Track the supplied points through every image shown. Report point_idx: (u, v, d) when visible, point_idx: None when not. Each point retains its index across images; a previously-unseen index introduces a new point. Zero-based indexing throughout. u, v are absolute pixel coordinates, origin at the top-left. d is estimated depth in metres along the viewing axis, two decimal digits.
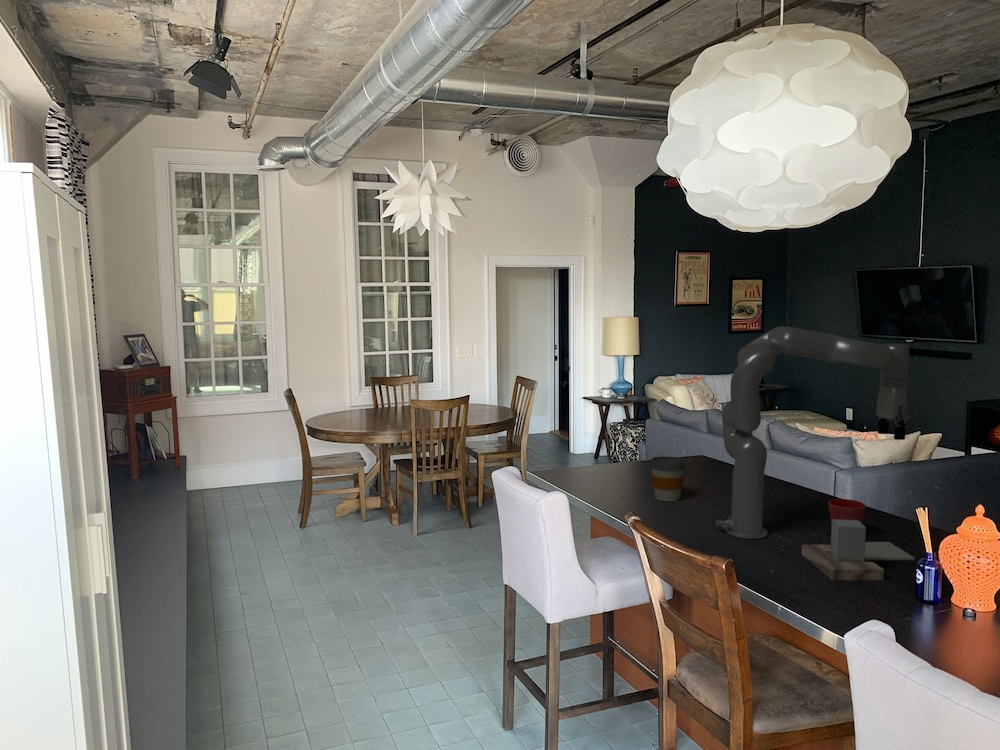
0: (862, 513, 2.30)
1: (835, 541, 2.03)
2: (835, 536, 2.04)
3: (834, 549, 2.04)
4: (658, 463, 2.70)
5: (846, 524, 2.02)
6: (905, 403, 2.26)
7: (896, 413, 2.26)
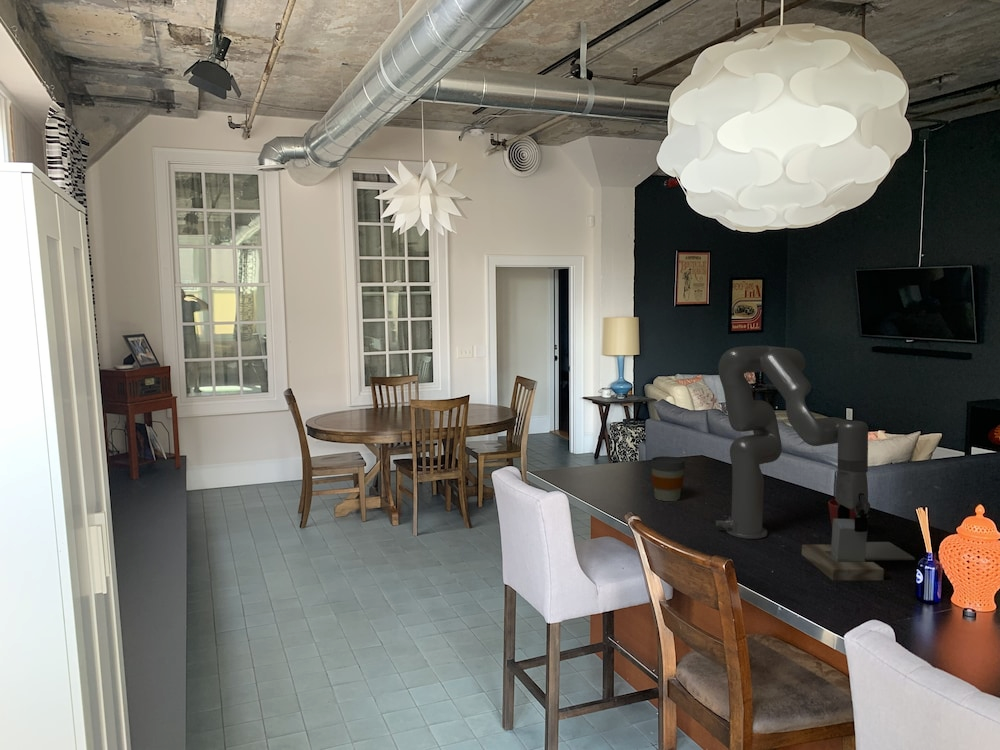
0: None
1: (836, 541, 2.02)
2: (836, 537, 2.03)
3: (835, 549, 2.03)
4: (658, 463, 2.70)
5: (847, 525, 2.01)
6: (866, 490, 1.97)
7: (856, 501, 1.97)
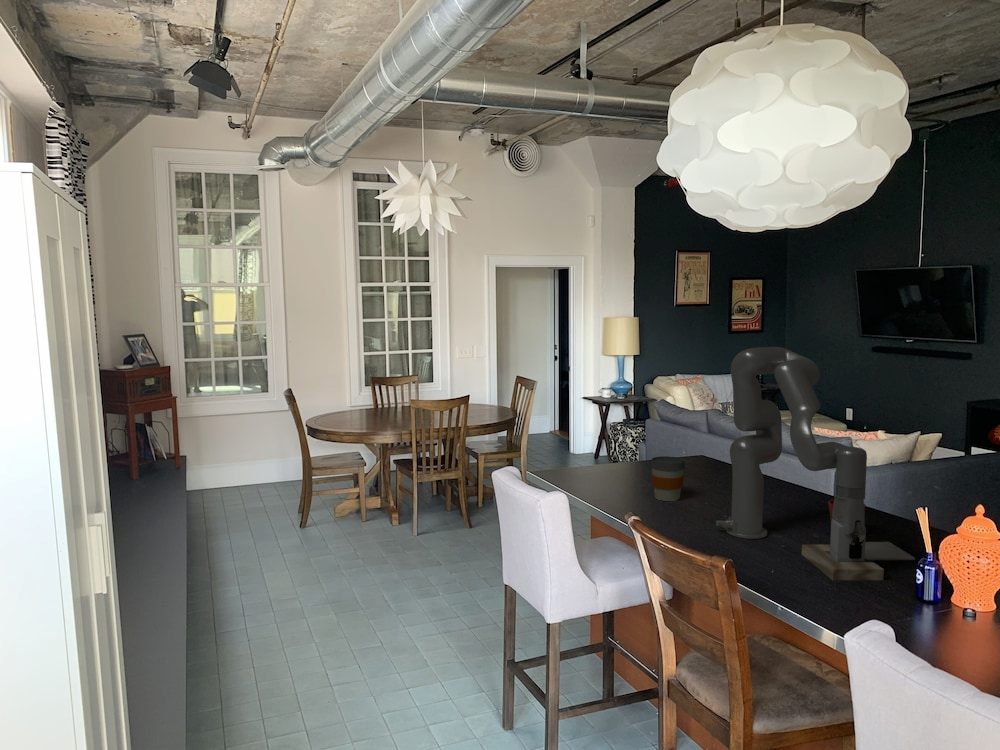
0: None
1: (835, 541, 2.03)
2: (835, 536, 2.03)
3: (834, 549, 2.04)
4: (658, 463, 2.70)
5: None
6: (862, 517, 1.98)
7: (852, 528, 1.98)
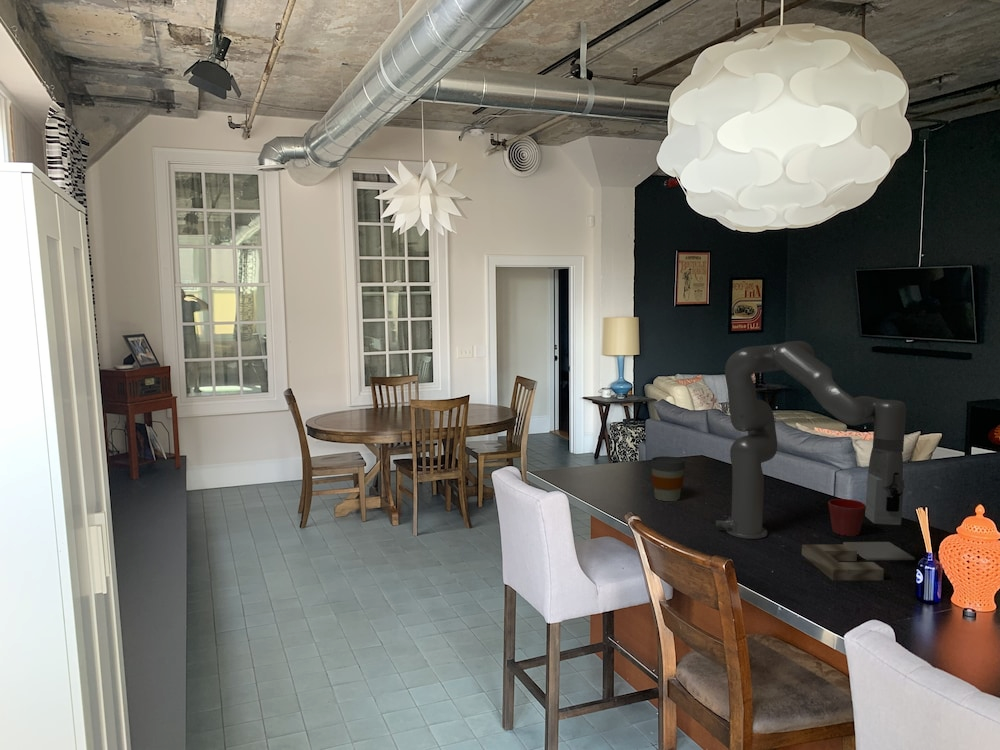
0: (862, 513, 2.30)
1: (872, 494, 2.02)
2: (872, 490, 2.02)
3: (871, 503, 2.03)
4: (658, 463, 2.70)
5: None
6: (901, 469, 1.97)
7: (890, 480, 1.97)
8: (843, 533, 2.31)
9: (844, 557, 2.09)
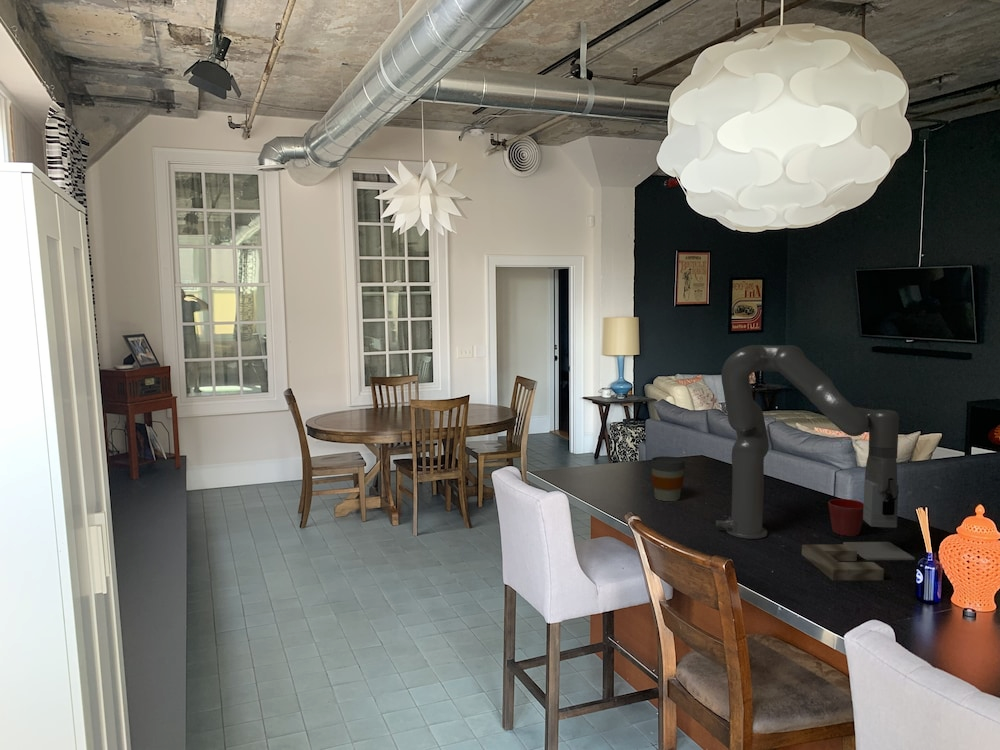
0: (862, 513, 2.30)
1: (869, 499, 2.14)
2: (868, 495, 2.15)
3: (868, 507, 2.15)
4: (658, 463, 2.70)
5: None
6: (895, 475, 2.09)
7: (885, 486, 2.10)
8: (843, 533, 2.31)
9: (844, 557, 2.09)
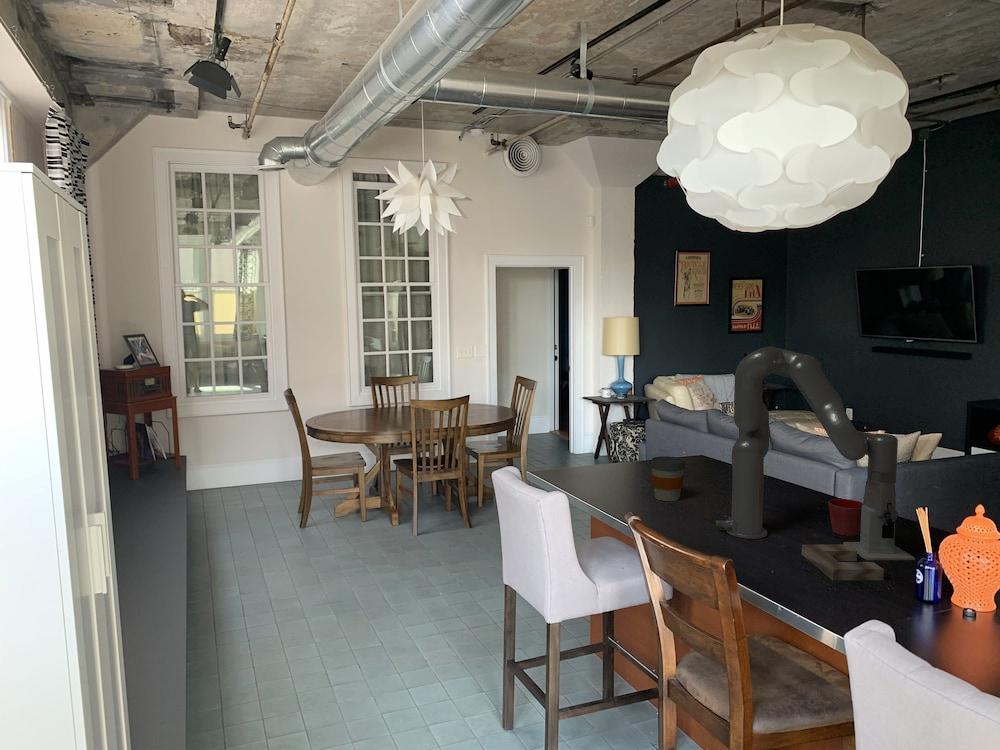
0: None
1: (866, 525, 2.15)
2: (866, 521, 2.16)
3: (865, 533, 2.16)
4: (658, 463, 2.70)
5: None
6: (894, 499, 2.10)
7: (884, 510, 2.10)
8: (843, 533, 2.31)
9: (844, 557, 2.09)
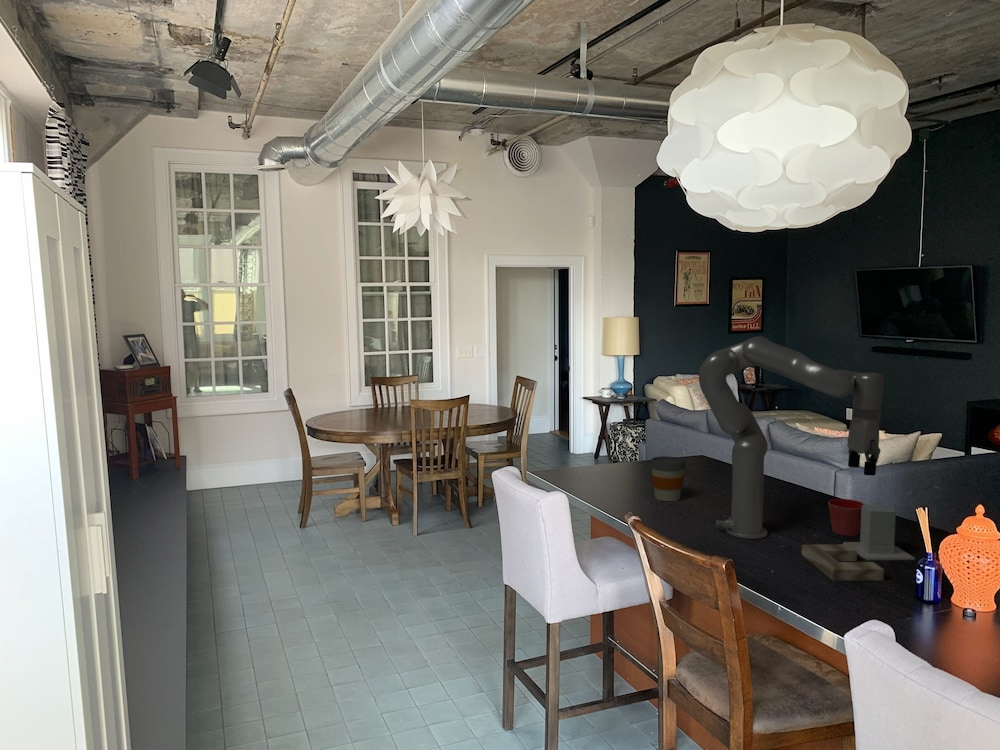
0: None
1: (866, 525, 2.15)
2: (866, 521, 2.16)
3: (865, 533, 2.16)
4: (658, 463, 2.70)
5: (877, 509, 2.14)
6: (877, 437, 2.12)
7: (867, 447, 2.12)
8: (843, 533, 2.31)
9: (844, 557, 2.09)
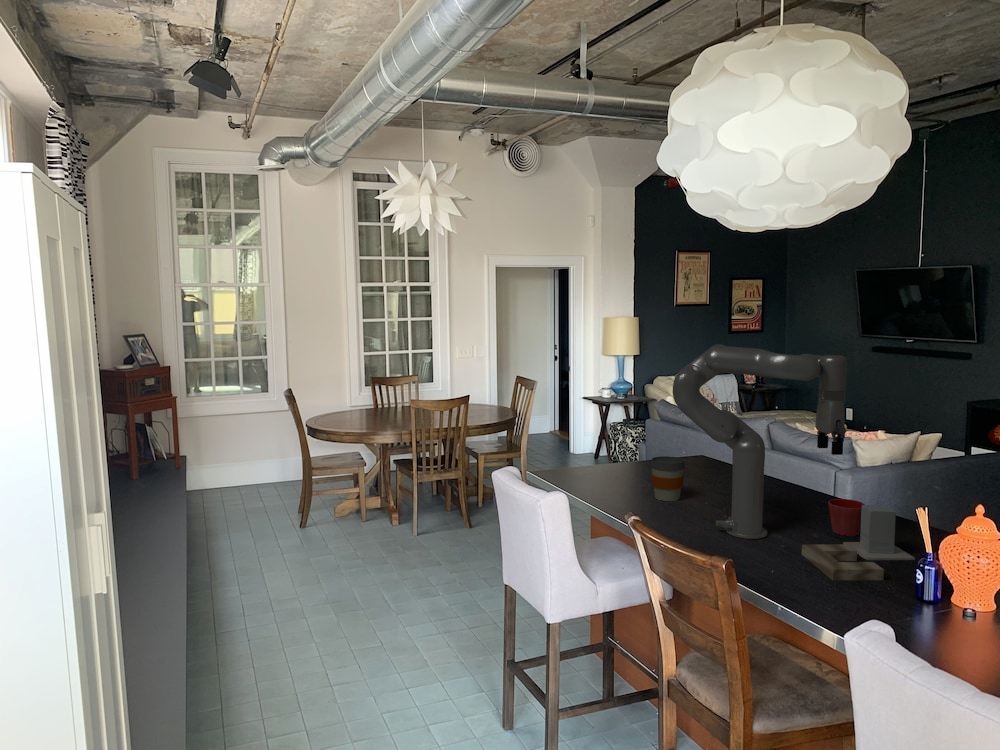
0: None
1: (866, 525, 2.15)
2: (866, 521, 2.16)
3: (865, 533, 2.16)
4: (658, 463, 2.70)
5: (877, 509, 2.14)
6: (843, 417, 2.18)
7: (833, 427, 2.18)
8: (843, 533, 2.31)
9: (844, 557, 2.09)
